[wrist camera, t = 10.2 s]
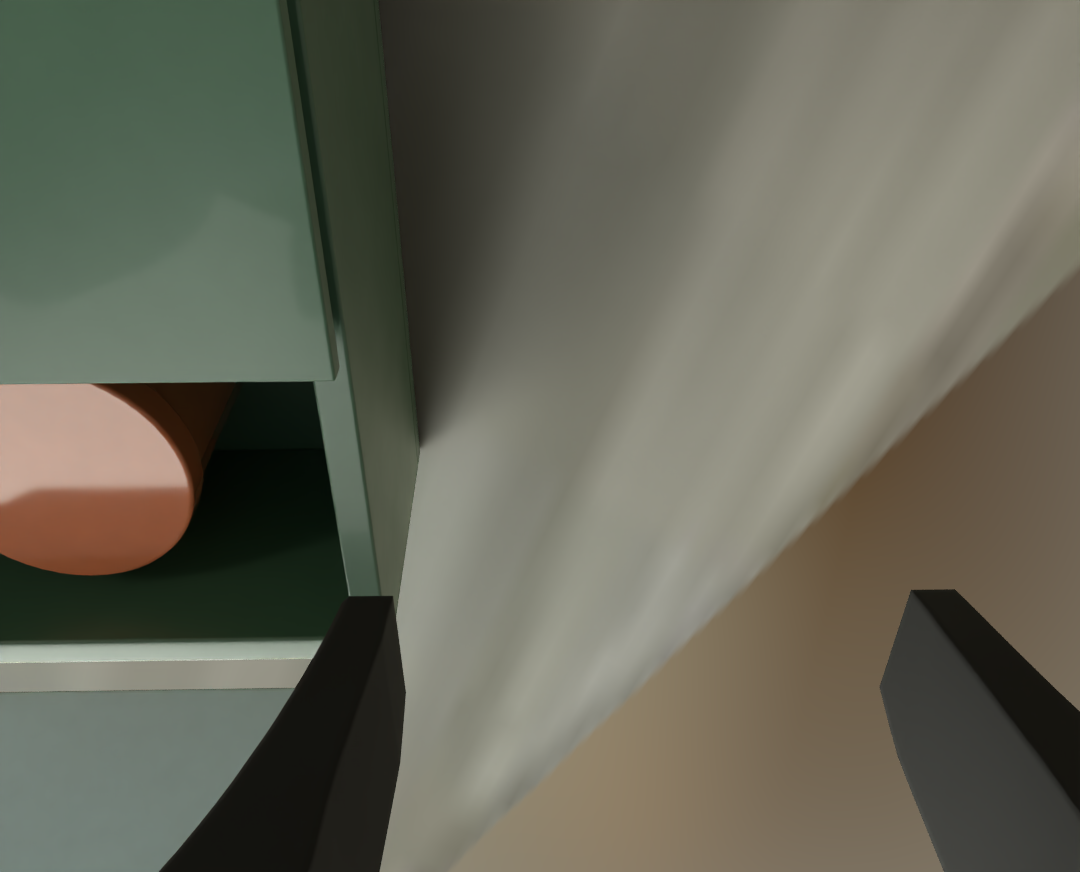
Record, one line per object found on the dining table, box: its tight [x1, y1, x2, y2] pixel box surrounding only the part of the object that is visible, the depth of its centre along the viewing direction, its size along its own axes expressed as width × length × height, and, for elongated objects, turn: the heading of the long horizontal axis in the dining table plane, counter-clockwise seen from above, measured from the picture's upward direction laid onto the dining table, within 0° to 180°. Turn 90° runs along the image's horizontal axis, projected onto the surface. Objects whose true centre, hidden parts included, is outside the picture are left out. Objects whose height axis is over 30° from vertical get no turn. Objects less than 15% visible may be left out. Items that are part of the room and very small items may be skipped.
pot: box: [0, 382, 244, 576], centre depth 18 cm, size 5×5×5 cm
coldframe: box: [0, 0, 420, 663], centre depth 16 cm, size 13×11×7 cm
